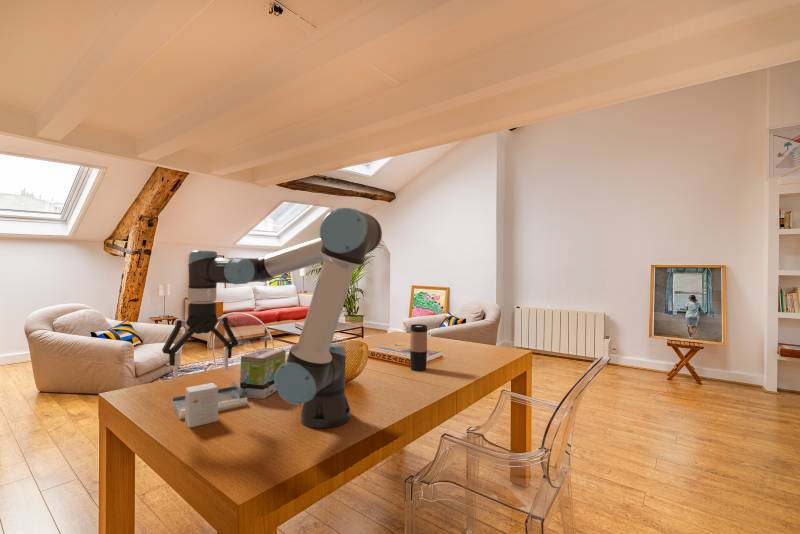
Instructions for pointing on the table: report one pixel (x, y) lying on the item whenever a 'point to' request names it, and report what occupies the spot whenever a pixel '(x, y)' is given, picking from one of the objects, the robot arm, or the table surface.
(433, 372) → the table surface
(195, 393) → the small box
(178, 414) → the grey shallow tray
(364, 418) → the table surface
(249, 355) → the tea box
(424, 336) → the travel mug
